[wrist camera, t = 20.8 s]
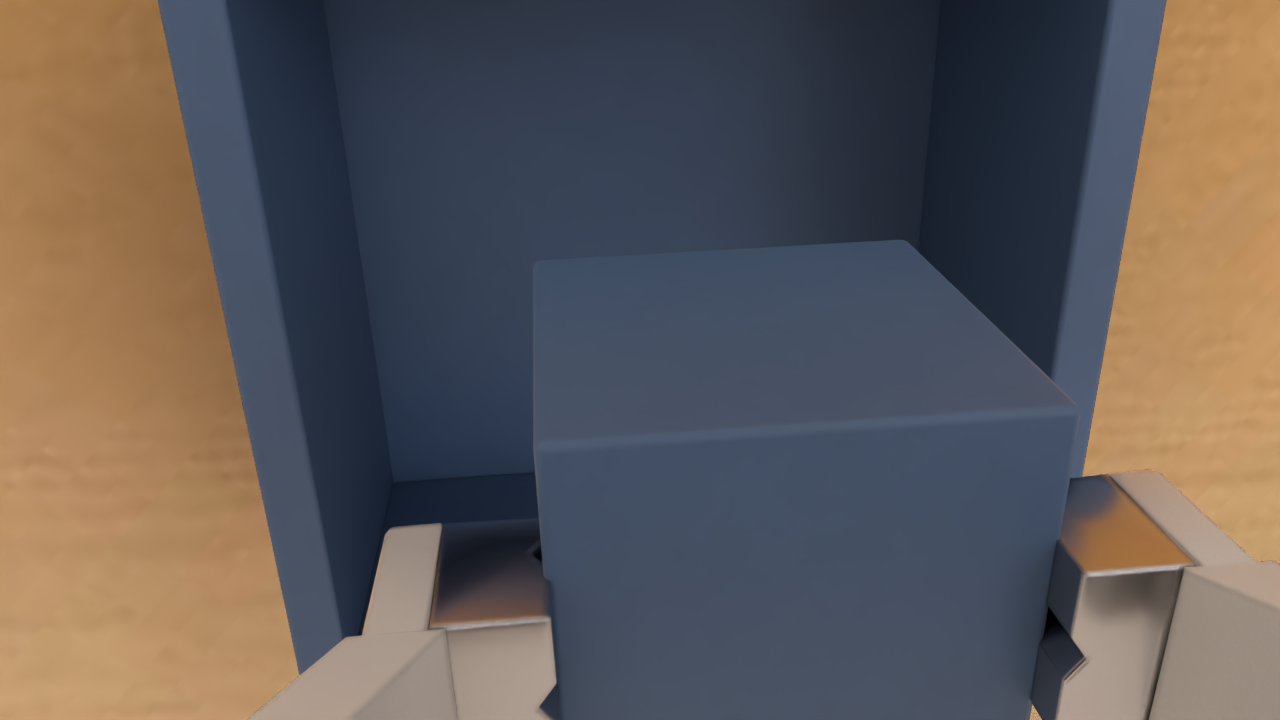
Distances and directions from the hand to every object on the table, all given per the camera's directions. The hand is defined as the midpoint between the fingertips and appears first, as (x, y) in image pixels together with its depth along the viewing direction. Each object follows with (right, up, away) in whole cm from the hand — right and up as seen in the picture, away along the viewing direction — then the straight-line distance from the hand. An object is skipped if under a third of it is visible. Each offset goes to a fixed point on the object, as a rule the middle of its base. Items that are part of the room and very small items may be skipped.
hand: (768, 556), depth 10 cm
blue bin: (-1, +5, +11) cm, 12 cm away
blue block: (0, +1, +3) cm, 3 cm away
